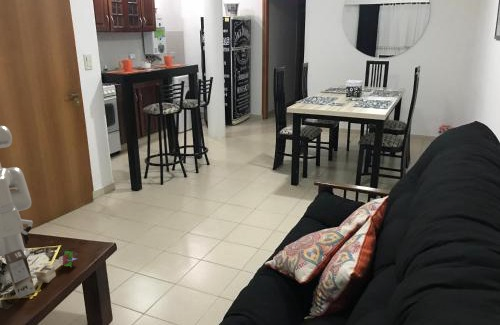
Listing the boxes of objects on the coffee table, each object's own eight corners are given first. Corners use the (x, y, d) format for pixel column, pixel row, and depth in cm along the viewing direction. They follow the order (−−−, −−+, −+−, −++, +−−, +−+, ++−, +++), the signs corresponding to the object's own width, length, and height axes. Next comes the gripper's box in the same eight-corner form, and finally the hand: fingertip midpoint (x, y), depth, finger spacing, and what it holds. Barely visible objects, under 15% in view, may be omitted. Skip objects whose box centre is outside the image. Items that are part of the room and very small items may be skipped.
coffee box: (36, 291, 160) (27, 257, 154) (18, 299, 156) (8, 264, 151) (29, 281, 166) (21, 248, 161) (12, 288, 163) (3, 254, 157)
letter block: (37, 281, 166) (35, 271, 165) (45, 274, 171) (43, 264, 169) (49, 283, 165) (46, 272, 164) (57, 275, 170) (54, 265, 168)
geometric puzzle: (69, 253, 182) (59, 246, 175) (82, 255, 180) (73, 248, 174) (63, 268, 178) (52, 262, 172) (76, 270, 177) (66, 264, 170)
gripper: (-26, 217, 141) (-14, 258, 147) (29, 204, 150) (38, 243, 156) (-26, 209, 147) (-14, 249, 153) (26, 197, 156) (35, 235, 162)
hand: (12, 246), depth 155 cm, fingers open, 9 cm apart
